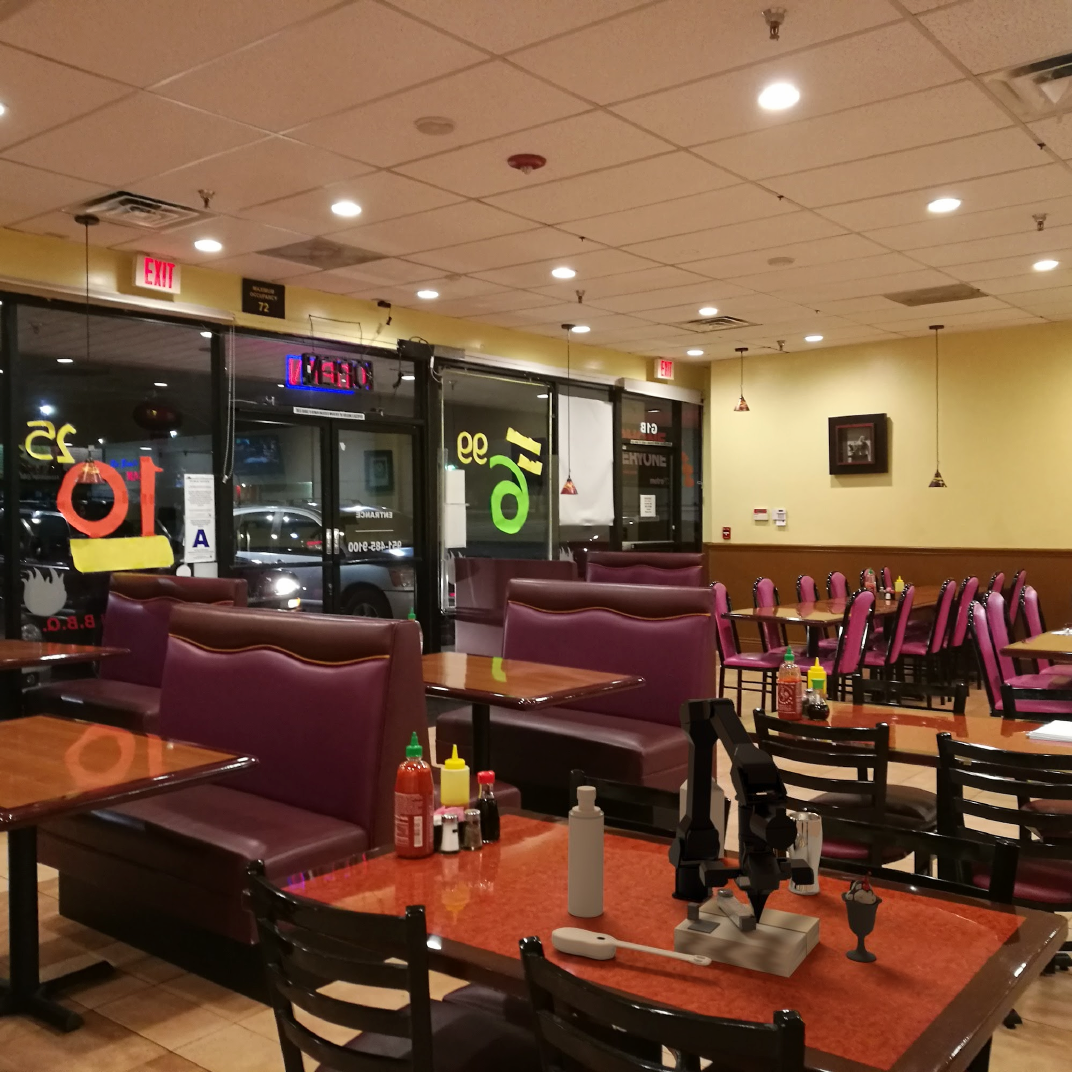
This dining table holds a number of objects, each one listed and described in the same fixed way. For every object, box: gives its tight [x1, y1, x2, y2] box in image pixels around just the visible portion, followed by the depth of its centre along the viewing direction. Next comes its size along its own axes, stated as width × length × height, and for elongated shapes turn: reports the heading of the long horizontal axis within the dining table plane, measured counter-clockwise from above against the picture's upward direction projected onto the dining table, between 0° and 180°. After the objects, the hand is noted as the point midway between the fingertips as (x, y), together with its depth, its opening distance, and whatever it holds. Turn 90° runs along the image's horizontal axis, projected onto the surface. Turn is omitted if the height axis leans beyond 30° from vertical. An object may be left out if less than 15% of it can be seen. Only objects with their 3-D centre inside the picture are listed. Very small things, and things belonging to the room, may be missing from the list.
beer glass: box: [787, 811, 823, 896], centre depth 211 cm, size 7×7×15 cm
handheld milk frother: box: [551, 927, 713, 966], centre depth 175 cm, size 28×6×3 cm, turn 65°
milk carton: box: [679, 776, 725, 860], centre depth 233 cm, size 7×7×19 cm
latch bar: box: [716, 887, 756, 931], centre depth 184 cm, size 13×3×3 cm, turn 9°
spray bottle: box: [567, 785, 605, 918], centre depth 198 cm, size 7×7×25 cm
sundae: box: [840, 871, 883, 963], centre depth 178 cm, size 7×7×15 cm
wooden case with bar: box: [673, 897, 820, 979], centre depth 182 cm, size 20×18×6 cm
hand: (757, 922), depth 180 cm, fingers closed
